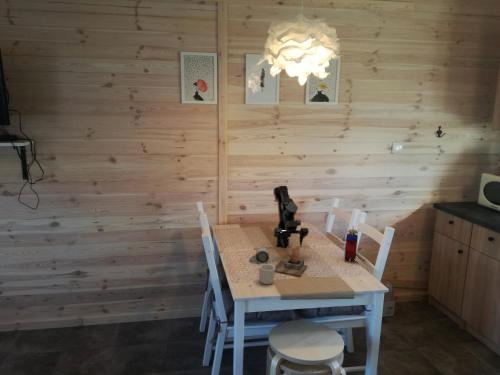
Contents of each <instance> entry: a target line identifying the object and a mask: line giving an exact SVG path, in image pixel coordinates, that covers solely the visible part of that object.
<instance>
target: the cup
mask: <svg viewBox="0 0 500 375" xmlns="http://www.w3.org/2000/svg"><path fill="white" fill-rule="evenodd" d="M275 266H276V265H273V264H272V263H265V264H259V266H258V275H259V281H260V283H261V284H263V285H271V284H273V282H274V278H275V273H276V272H275Z"/></svg>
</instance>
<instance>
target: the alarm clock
mask: <svg viewBox="0 0 500 375" xmlns="http://www.w3.org/2000/svg"><path fill="white" fill-rule="evenodd" d="M354 227H355V226H354V225H352V228H351V229H348V230H347V233H346V236H345V237H342V241H343V242H345V243H341V245H345V246H344V247H342V249H343V250H344V259H348V262H349V263H351V260H356V258H357V249H358V238H359V236H358V234H359V231H357V230H356V229H354Z"/></svg>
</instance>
